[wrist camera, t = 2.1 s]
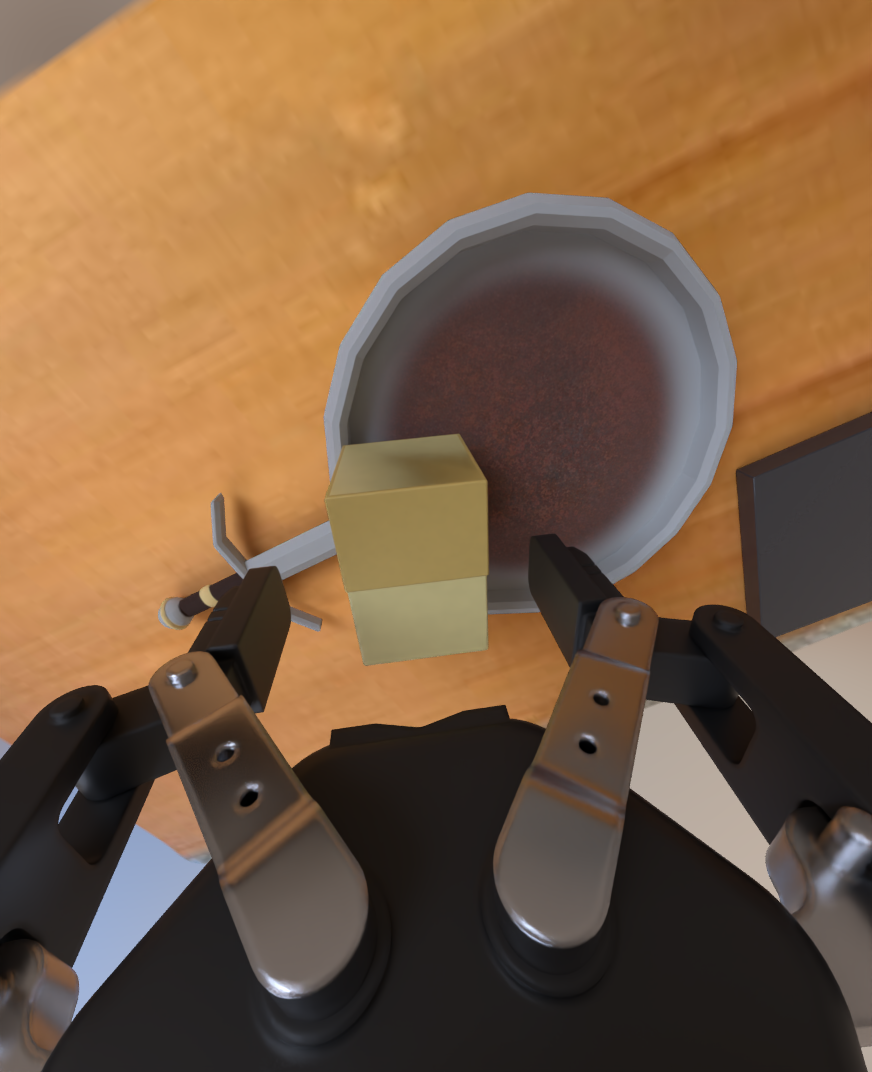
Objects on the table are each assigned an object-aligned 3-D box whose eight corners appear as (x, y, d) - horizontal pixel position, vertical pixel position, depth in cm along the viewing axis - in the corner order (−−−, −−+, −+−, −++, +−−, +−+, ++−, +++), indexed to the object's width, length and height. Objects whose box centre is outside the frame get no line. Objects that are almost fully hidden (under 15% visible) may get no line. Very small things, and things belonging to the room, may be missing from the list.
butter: (459, 432, 16) (488, 480, 11) (466, 571, 19) (490, 651, 14) (342, 445, 15) (323, 498, 11) (368, 583, 19) (361, 668, 14)
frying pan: (-26, 488, 15) (734, 51, 11) (35, 462, 18) (672, 99, 14) (262, 738, 23) (764, 535, 19) (275, 696, 26) (722, 509, 22)
